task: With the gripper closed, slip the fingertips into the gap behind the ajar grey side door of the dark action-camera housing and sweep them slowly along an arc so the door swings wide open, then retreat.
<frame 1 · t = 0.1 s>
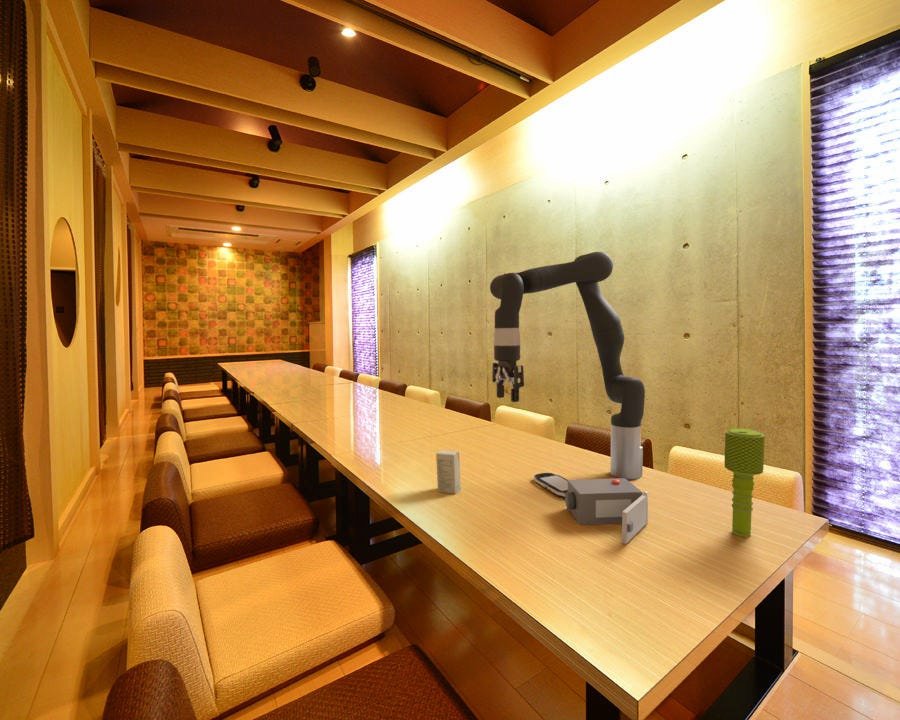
hand: (507, 399, 123), 29 cm above the table, fingers open, 8 cm apart
gaming console: (558, 489, 133), on the table
side door: (637, 517, 102), point 4 cm above the table, hinge at 45.0°
skincare box: (448, 491, 132), on the table
green knurled bolt: (741, 533, 102), on the table
camera housing: (603, 515, 113), on the table
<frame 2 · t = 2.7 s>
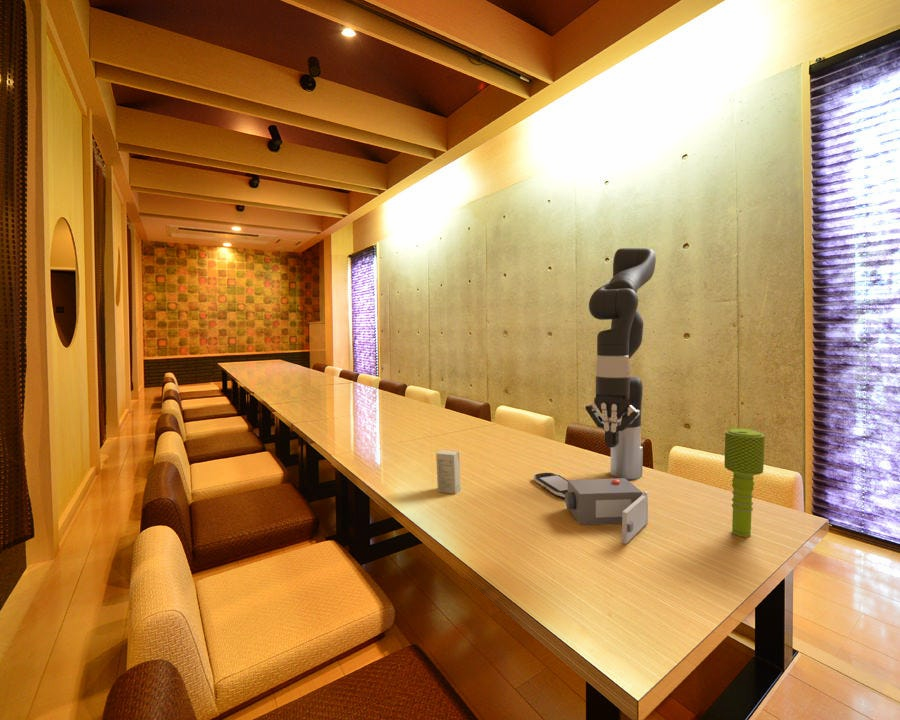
hand: (611, 446, 101), 21 cm above the table, fingers closed
nothing on the table moved.
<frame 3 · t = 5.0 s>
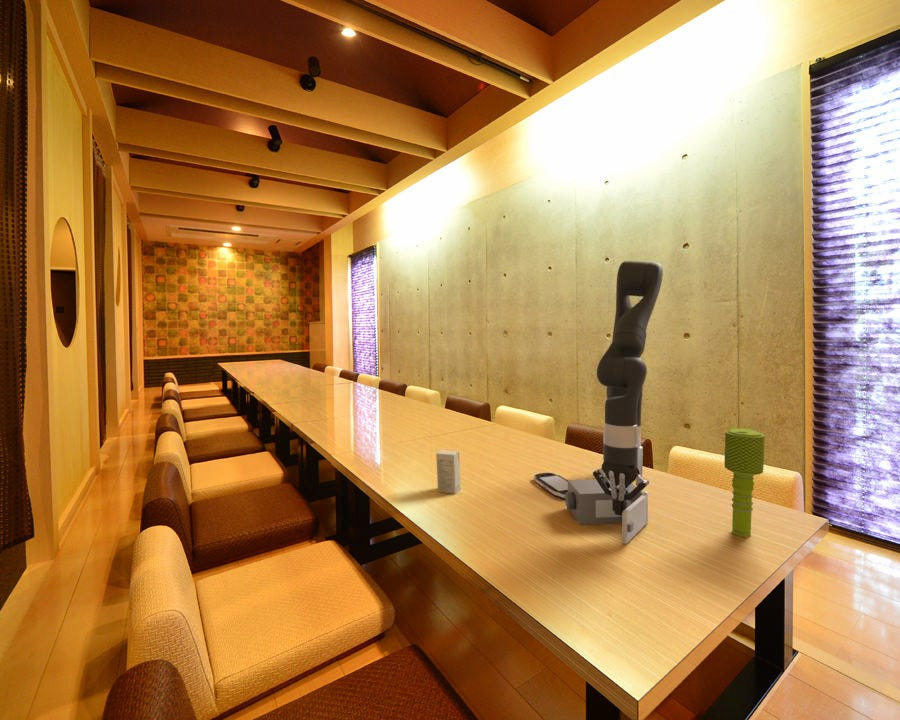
hand: (619, 513, 100), 6 cm above the table, fingers closed
side door: (637, 517, 102), point 4 cm above the table, hinge at 45.1°, touching gripper
everything else where it was.
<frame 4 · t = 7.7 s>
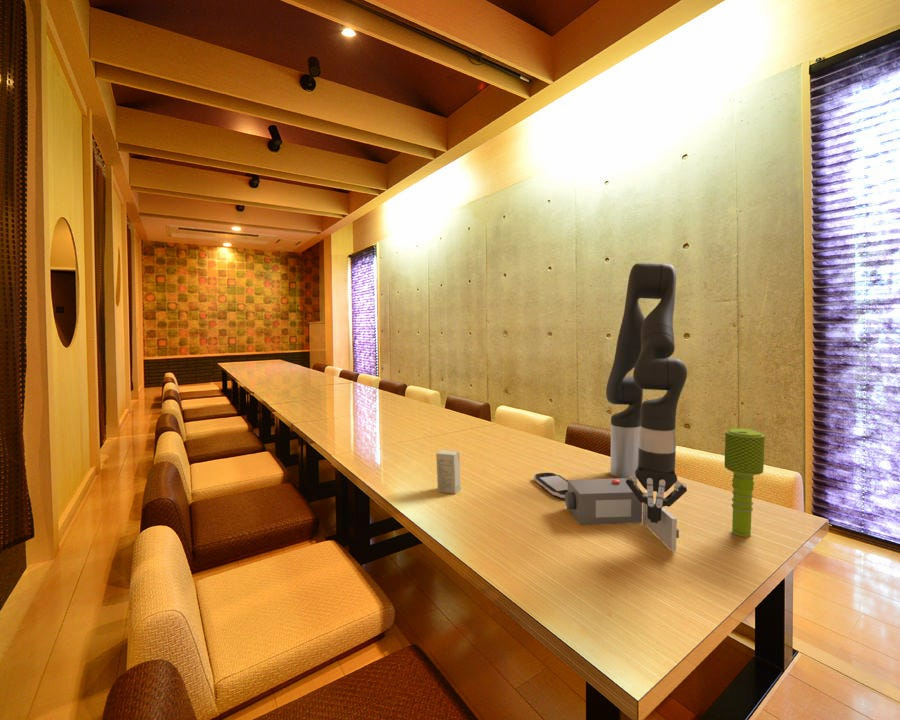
hand: (654, 521, 97), 6 cm above the table, fingers closed
side door: (659, 519, 100), point 4 cm above the table, hinge at 87.9°, touching gripper
everything else where it was.
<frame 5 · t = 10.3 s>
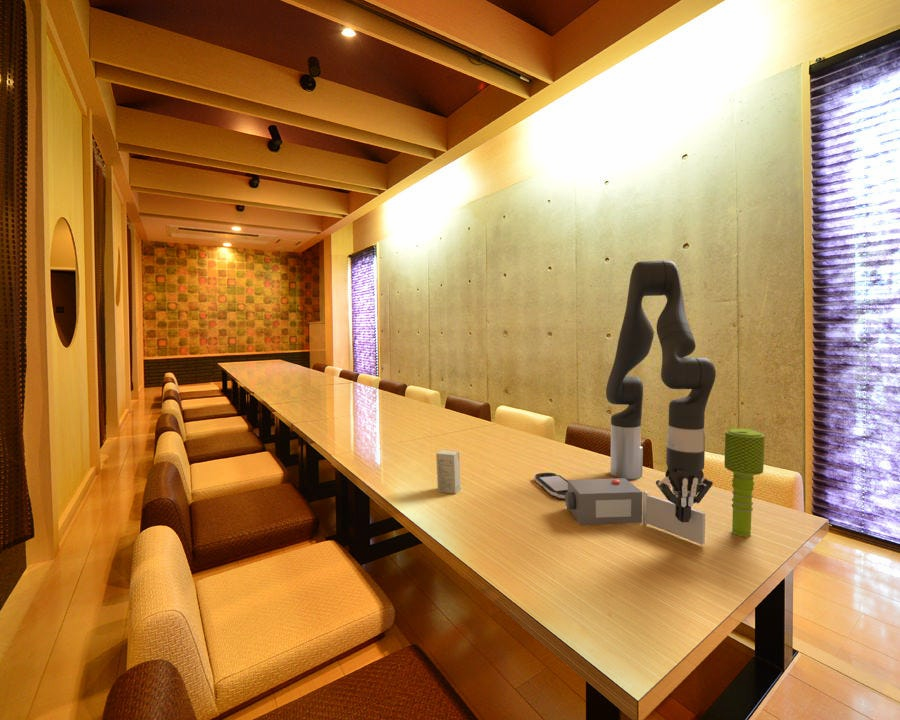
hand: (683, 520, 97), 6 cm above the table, fingers closed
side door: (672, 516, 101), point 4 cm above the table, hinge at 123.5°, touching gripper
everything else where it was.
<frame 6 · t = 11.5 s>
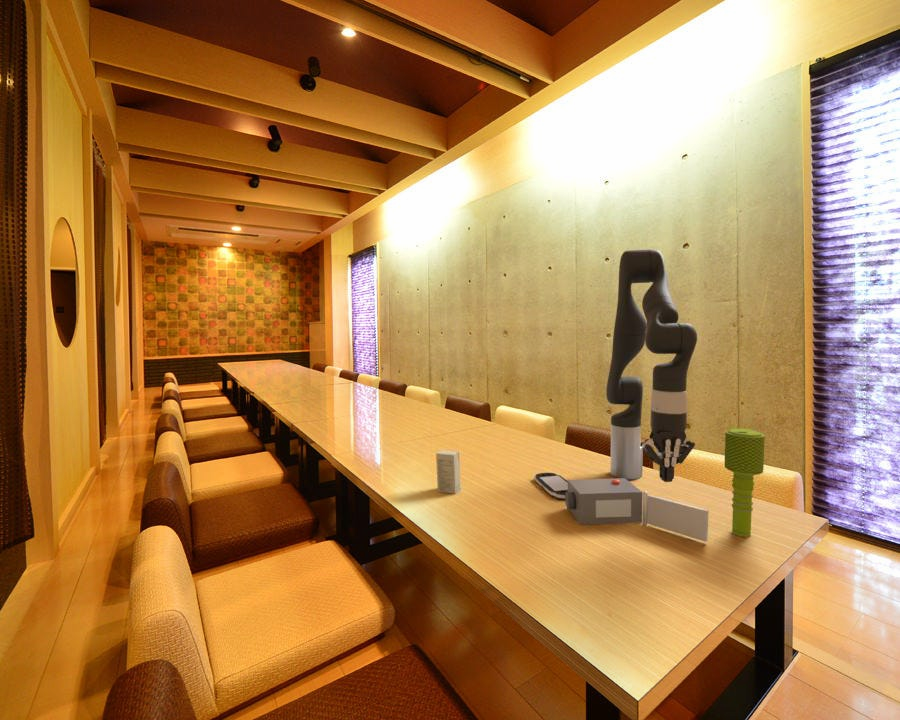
hand: (666, 480, 101), 13 cm above the table, fingers closed
side door: (673, 515, 102), point 4 cm above the table, hinge at 131.8°
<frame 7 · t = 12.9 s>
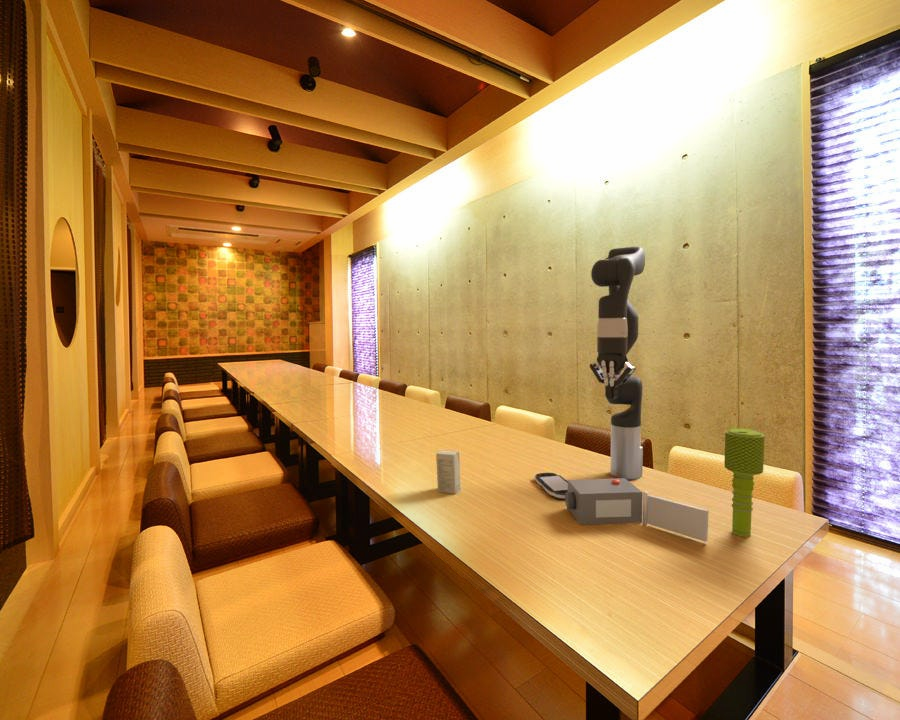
hand: (611, 399, 114), 30 cm above the table, fingers closed
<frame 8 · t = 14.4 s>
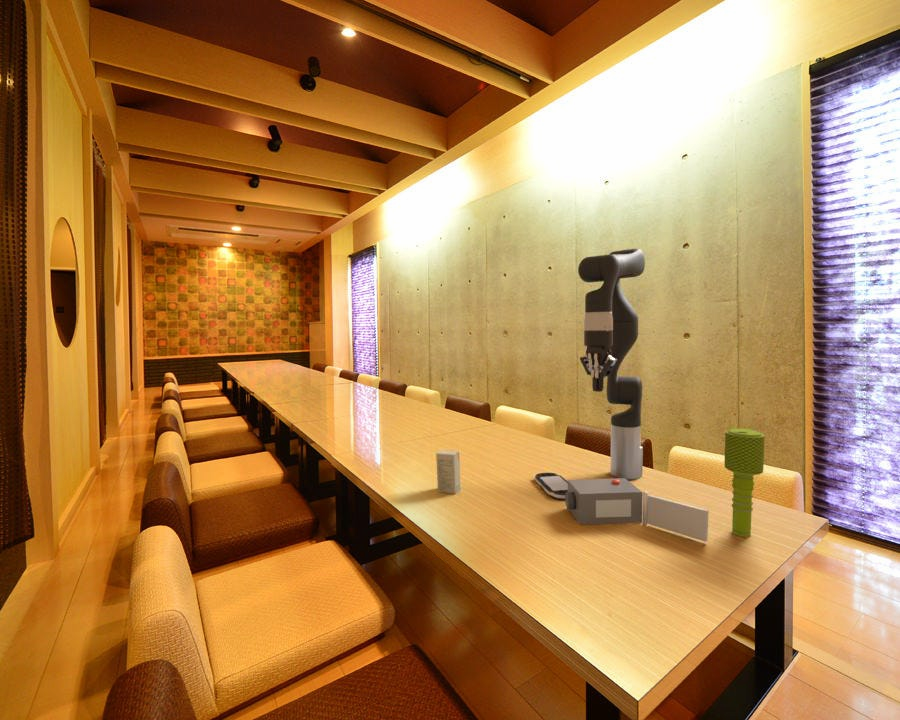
hand: (597, 391, 118), 32 cm above the table, fingers closed
at the end: side door at +132° (first picture: +45°) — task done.
